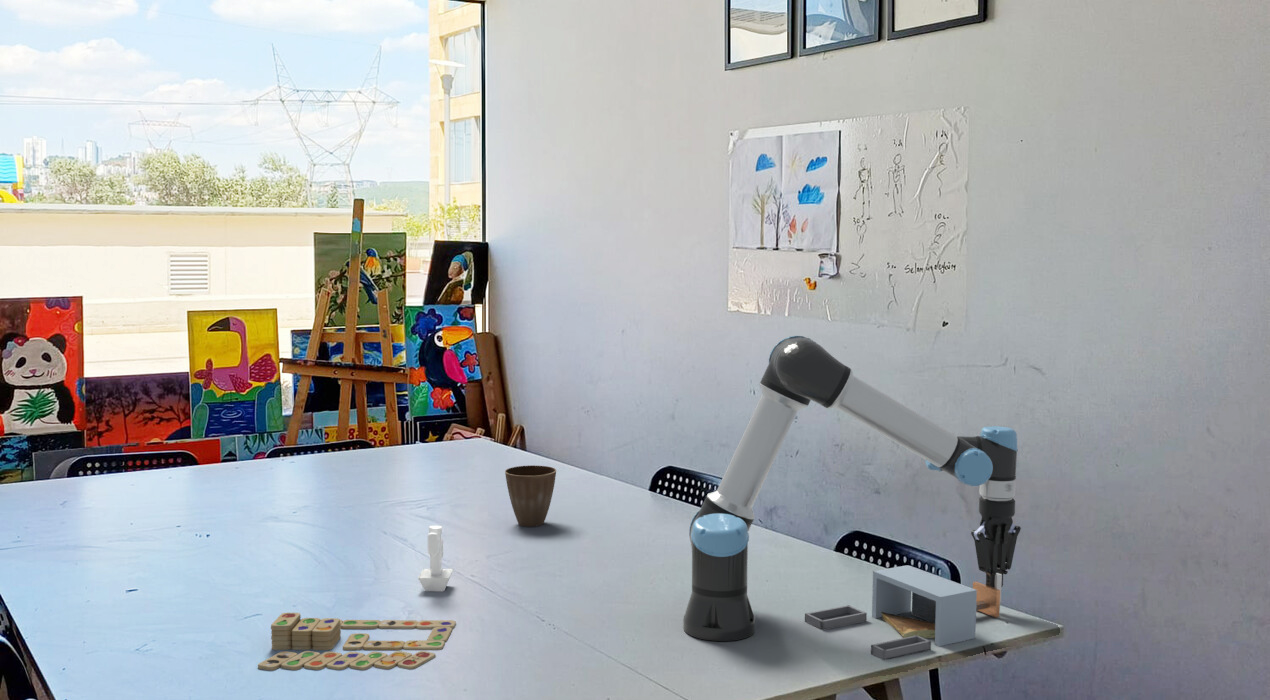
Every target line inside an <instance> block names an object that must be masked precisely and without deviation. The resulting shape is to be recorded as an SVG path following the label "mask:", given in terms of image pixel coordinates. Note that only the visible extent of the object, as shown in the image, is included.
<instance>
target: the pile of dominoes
mask: <svg viewBox="0 0 1270 700" xmlns="http://www.w3.org/2000/svg"><path fill="white" fill-rule="evenodd" d="M456 625H457V622H456V620H453V619H451V620H448V619H446V620H445V619H443V620H442V619H441V620H438V619H437V620H436V619H435V620H433V619H430V620H427V619H424V620H423V619H422V620H413V619H412V620H410V619H407V620H406V619H404V620H399V619H398V620H397V619H384V620H380V619H345V620H343V619H340V618H338V617H337V618H336V617H333V618H329V617H325V618H321V619H320V618H319V617H304V618H302V616H301V613H300V612H283V613H281V614H279V616H278V617H277V618H276V619H275V620H274V621H273V622H272V624H271V625H270V630H271V632H270V633H271V635H270V637H271V638H270V639H271V650H274V651H275V650H276V651H279V652H277V653H276V654H274V655H272V656H270V657H268V658H266V659H265V660H263V661H261V662H259V663H257V669H258V670H264V671H275V670H278V669H285V670H291V671H297V670H301V669H302V668H303V669H307V670H314V671H320V670H323V669H325V668H327V669H329V670H330V669H331V670H336V671H343V670H345V669H347V668H349V669H353V670H359V671H366V670H368V669H370V668H372V667H373V668H378V669H382V670H390V669H393V668H395V667H398V668H402V669H407V670H415V669H417V668H418V667H420V666H422V665H424V664H426V663H428V662H429V661H431V660H433V659H435V658H436V653H434V652H430V651H439V650H442V649H444V646H445V645H446V644H445V643H447V642H448V640H449V638H450V636H451V635H452V634H451V633H452V632H453V629H455V627H456ZM341 629H342V630H376V629H380V630H414V629H417V630H431V632H430V633H429V635H428V637H427V639H426V640H424V639H423V640H420V639H419V640H415V639H414V640H413V639H411V640H406V641H405V640H370V634H369V633H360V632H359V633H356V632H355V633H351V634H350V635H349V636H348V637H347V639H346V641H345V643H344V644H343V645H342V650H343V651H348V652H346V653H344V654H342V653H341V652H336V651H330V650H332V649H334V648H335V646H336V645H337V644H338V643H339V641H340V639H341V638H342V637H341V631H342V630H341ZM280 650H282V651H280ZM288 650H294V651H288ZM296 650H297V651H302V652H300V653H297V652H295V651H296ZM311 650H312V651H311ZM313 650H314V651H313ZM360 650H364V651H370V652H369V653H367V654H366V653H364V652H357V651H360ZM403 650H405V651H403ZM318 651H324V652H322V653H320V652H318ZM380 651H381V652H380ZM382 651H394V652H392V653H390V654H389V655H388V653H386V652H382ZM407 651H418V652H416V653H413V654H412V653H411V652H407Z"/></svg>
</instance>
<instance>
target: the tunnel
mask: <svg viewBox="0 0 1270 700" xmlns="http://www.w3.org/2000/svg"><path fill="white" fill-rule="evenodd" d="M912 592H914V593H916V594H919V595H921V596H924V597H927V598H929V599H932V600H934V601H936V620H935V638H934V645H936V646H938V647H943V646H946V645H950V644H956V643H960V642H964V641H968V640H973V639H976V628H977V625H976V624H977V610H976V599H977V590H975V589H973V587H970V586H966V585H963V584H961V583H959V582H956V581H953V580H950V579H948V578H944V577H943V576H939V575H936V574H934V573H931V572H928V571H925V570H922V569H920V568H917V567H914V566H911V565H902V566H901V565H899V566H894V567H889V568H884V569H878V570H872V600H871V601H872V604H871V605H872V606H871V608H872V609H871V617H872V618H874V619H879V618H883V616H882V613H881V612H883V613H888V614H893V615H899V614H905V613H910V612H912Z"/></svg>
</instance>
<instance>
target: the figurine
mask: <svg viewBox="0 0 1270 700" xmlns="http://www.w3.org/2000/svg"><path fill="white" fill-rule="evenodd" d="M442 534H443V526H441V525H430V526H428V534H427V553H428V555H429V567H430V568H423V569H422V570H421V572H420V573H419V575H418V577H417V579H418V581H419V583H420V585H421V586H422V588H423V590H424V592H445V590H446V588H447V586H448V584H449V580H450V578H451V575H452V573H453V572H454V571H453V570H454V568H442V558H443V557H444V540H443V538H442Z"/></svg>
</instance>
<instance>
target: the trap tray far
mask: <svg viewBox="0 0 1270 700" xmlns="http://www.w3.org/2000/svg"><path fill="white" fill-rule="evenodd" d="M867 614H868V613H867V612H865V611H864V610H860V609H858V608H856V607H853V606H851V605H849V604H847V605H841V606H837V607H832V608H827V609H822V610H817V611H810V612H806V613H804V622H805V623H807V624H809V625H811V626H813V627H816V628H817V629H818V630H821V631H824V630H829V629H833V628H839V627H845V626H848V625H849V626H850V625H854V624H858V623H859V624H860V623H864V622H867V617H868V616H867Z"/></svg>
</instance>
